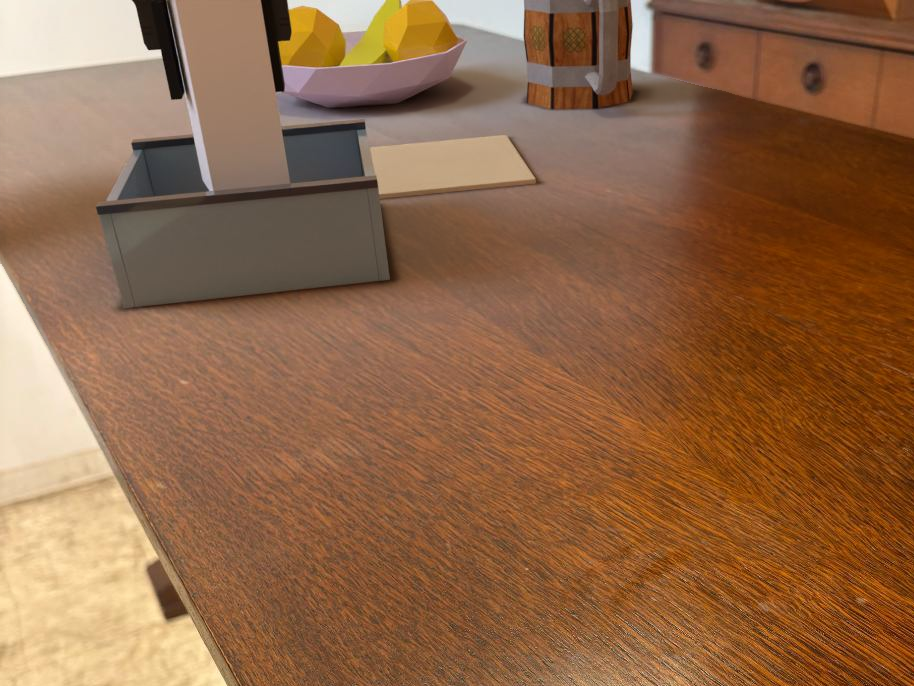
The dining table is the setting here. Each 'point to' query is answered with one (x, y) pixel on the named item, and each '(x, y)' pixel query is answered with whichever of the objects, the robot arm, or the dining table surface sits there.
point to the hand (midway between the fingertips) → (229, 91)
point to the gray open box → (245, 221)
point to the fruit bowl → (369, 55)
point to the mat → (448, 166)
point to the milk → (229, 92)
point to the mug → (578, 53)
